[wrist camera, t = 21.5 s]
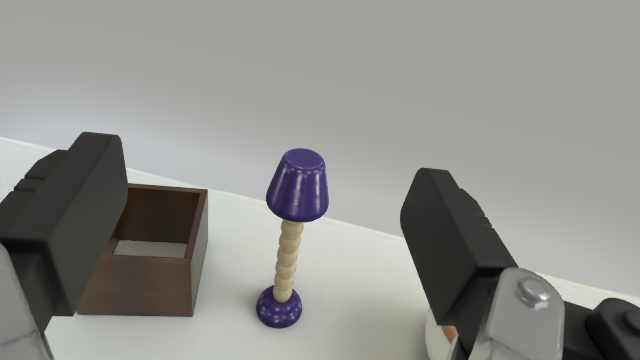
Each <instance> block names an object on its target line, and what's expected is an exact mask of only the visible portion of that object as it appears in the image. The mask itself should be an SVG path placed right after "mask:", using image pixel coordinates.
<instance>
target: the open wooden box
mask: <svg viewBox="0 0 640 360" xmlns="http://www.w3.org/2000/svg"><path fill="white" fill-rule="evenodd" d="M119 239H124V240H142V241H161V242H179V243H188V245H187V249H186V253H185V257H184V258H170V257H149V256H128V255H113V252H114V250H115V248H116V246H117V244H118V241H119ZM207 241H208V190H207V189H195V188H183V187H170V186H157V185H145V184H132V183H128V196H127V201H126V205H125V207H124V210H123V212H122V214H121V216H120V218H119V220H118V222H117V225H116V227H115V229H114V231H113V233H112V235H111V237H110V239H109V241H108V244H107V246H106V248H105V250H104V252H103V254H102V256H101V258H100V260H99V263H98V265H97V267H96V269H95V271H94V273H93V275H92V277H91V279H90V282H89V284H88V286H87V288H86V290H85V292H84V294H83V296H82V298H81V301H80V303H79V305H78V307H77V309H76V310H77V313H78V314H91V315H140V316H189V317H192V316H193V312H194V308H195V302H196V297H197V292H198V287H199V282H200V277H201V272H202V267H203V262H204V257H205V252H206V247H207Z"/></svg>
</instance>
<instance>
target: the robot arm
mask: <svg viewBox="0 0 640 360" xmlns="http://www.w3.org/2000/svg"><path fill="white" fill-rule="evenodd" d="M127 196H128V181H127V175H126V168H125V161H124V155H123V148H122V142H121V139H120V137H119V136H118V135H112V134H102V133H92V132H83V133H81V134H80V136H79V137H78V138H77V139H76V141H75V142H74V143H73V145H72V146H71V147H70V148H69V149H68V150H56V151H54V152H52V153H51V154H49V155H47V156H45V157H44V158H42V159H40V160H38V161H37V162H36V163H35V164H34V165H33V167H32V168H31V169H30V170H29V171H28V172H27V173H26V175H25V178H24V179H21V180H20V181H19V183H18V184H17V185H16V186H15V187H14V191H11V192H10V193H9V194H8V195H7V196H6V197H5V199H4V200H3V201H2V202H1V203H0V360H55V359H54V357H53V354H52V352H51V349H50V346H49V344H48V341H47V339H46V336H45V334H44V331H45V329H46V327H47V325H48V323H49V321H50V320H51V318H52V316H73V315H74V313H75V311H76V309H77V307H78V305H79V303H80V301H81V298H82V296H83V294H84V292H85V290H86V288H87V286H88V284H89V282H90V279H91V277H92V275H93V273H94V271H95V269H96V267H97V265H98V263H99V260H100V258H101V256H102V254H103V252H104V250H105V248H106V246H107V244H108V241H109V239H110V237H111V235H112V233H113V231H114V229H115V227H116V225H117V222H118V220H119V218H120V216H121V214H122V212H123V210H124V207H125V205H126V201H127ZM400 224H401V229H402V231H403V234H404V237H405V240H406V242H407V245H408V248H409V251H410V253H411V256H412V259H413V261H414V264H415V267H416V270H417V272H418V275H419V278H420V280H421V283H422V286H423V289H424V291H425V294H426V297H427V299H428V302H429V305H430V308H431V310H432V313H433V316H434V319H435V321H436V324H437V326H455V328H456V331H457V333H458V334H457V335H456V336H455V338H454V339H453V341H452V344H451V347H450V350H449V353H448V356H447V358H446V360H640V308H639V307H637V306H636V305H634V304H632V303H630V302H627V301H625V300H621V299H617V298H607V299H604V300H603V301H602V302H601V303H600V304H599V305H598V306H597V307H596V308H595V309H593V310H591V309H588V308H585V307H582V306H579V305H576V304H573V303H570V302H566V301H563V300H562V298H561V296H560V294H559V293H558V292H557V290H556V289H555V288H554V287H553V286H552V285H551V284H550V283H549V282H548V281H546V280H545V279H544V278H542V277H541V276H539V275H538V274H536V273H534V272H532V271H529V270H526V269H523V268H519V267H518V265H517V264H516V262H515V261H514V259H513V258H512V256H511V255H510V253H509V251H508V250H507V248H506V247H505V245H504V244H503V242H502V240H501V239H500V237H499V236H498V234H497V233H496V231H495V230H494V228H492V225H491V223H490V222H489V220H488V218H487V217H485V214H484V212H483V211H482V209H481V208H480V206H479V204H478V203H477V201H476V200H474V199H473V198H472V197H471V196H470V195H469V194H468V193H466V191H464V190H463V189H460V188H459V187H458V185H457V184H456V182H455V180H454V179H453V177H452V176H451V174H450V173H449V171H447V170H441V169H431V168H420V169H419V170H418V171H417V173H416V175H415V177H414V180H413V182H412V184H411V187H410V189H409V192H408V194H407V196H406V199H405V201H404V203H403V206H402V209H401V214H400Z"/></svg>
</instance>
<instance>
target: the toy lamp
mask: <svg viewBox="0 0 640 360" xmlns="http://www.w3.org/2000/svg"><path fill="white" fill-rule="evenodd" d="M266 202H267V205H268V207H269V209H270V210H271V211H272V212H273V213H274V214H275V215H277V216H278V217H280V218H282V219H283V221H282V225H281V231H282V233H281V235H280V239H279V245H280V247H279V249H278V253H277V258H278V261H277V263H276V274H275V279H274V282H275V285H273V286H271V287H268V288H267V289H266V290H264V291H263V292H262V294H261V295H260V297H259V299H258V301H257V306H256V310H257V314H258V316H259V318H260V319H261V321H262V322H264V323H265V324H266V325H268V326H270V327H275V328H283V327H288V326H290V325H292V324H294V323H295V322H296V321H297V320H298V319H299V317H300V314H301V311H302V304H301V300H300V297H299V295H298V294H297V293H296V291H295V290H294V289H292V285H293V283H294V273H295V271H296V261H297V258H298V248H299V245H300V241H301V237H300V235H301V233H302V230H303V222H311V221H314V220H316V219H318V218H320V217H321V216H322V215H323V214H324V213H325V212H326V211H327V208H328V202H329V199H328V187H327V176H326V167H325V163H324V160H323V158H322V157H321V156H320V155H319V154H318V153H316V152H314V151H312V150H308V149H303V148H300V149H299V148H296V149H292V150H289V151H288V152H286V153H285V154H284V155H283V157H282V159H281V161H280V163H279V165H278V167H277V170H276V172H275V174H274V176H273V179H272V181H271V183H270V186H269V188H268V191H267V194H266Z"/></svg>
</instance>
